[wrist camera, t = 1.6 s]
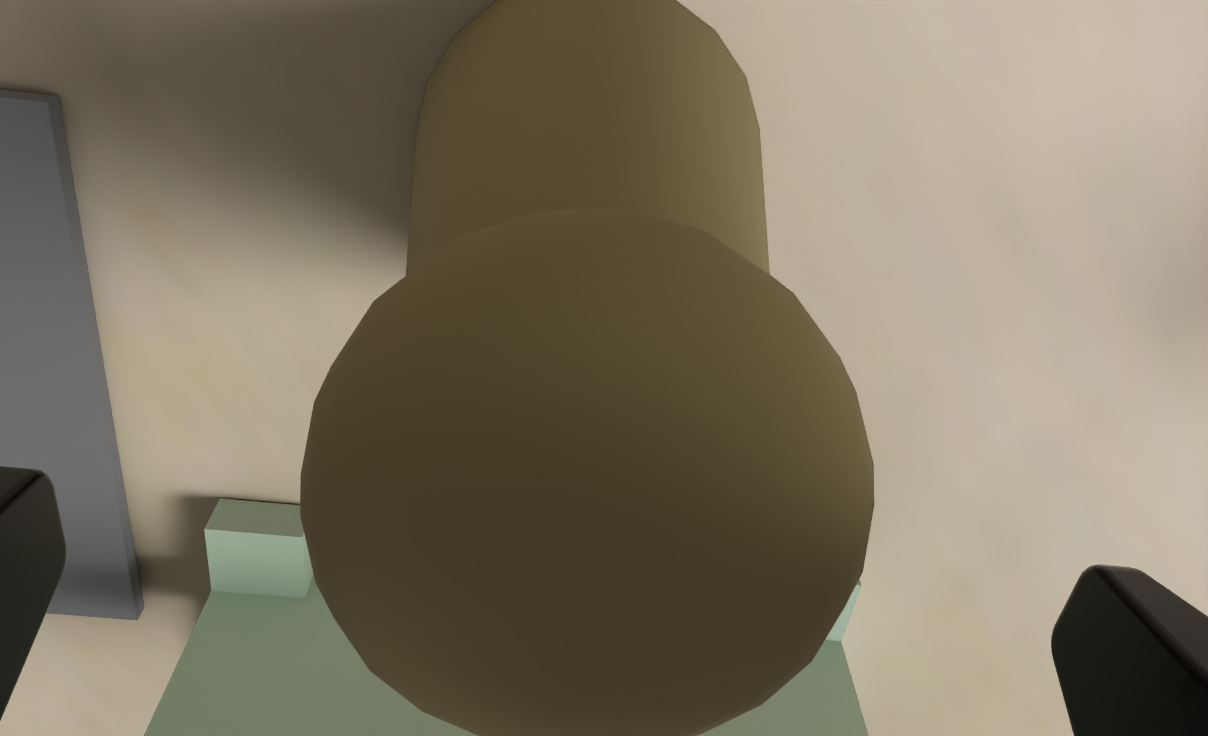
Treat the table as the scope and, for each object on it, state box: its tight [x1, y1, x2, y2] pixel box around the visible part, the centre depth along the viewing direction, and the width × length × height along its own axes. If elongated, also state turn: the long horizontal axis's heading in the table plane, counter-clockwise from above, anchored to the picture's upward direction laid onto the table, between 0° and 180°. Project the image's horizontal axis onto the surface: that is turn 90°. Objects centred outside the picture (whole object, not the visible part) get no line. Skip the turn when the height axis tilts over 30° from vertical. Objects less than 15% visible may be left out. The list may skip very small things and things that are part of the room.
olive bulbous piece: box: [300, 0, 874, 736], centre depth 12 cm, size 6×6×11 cm
